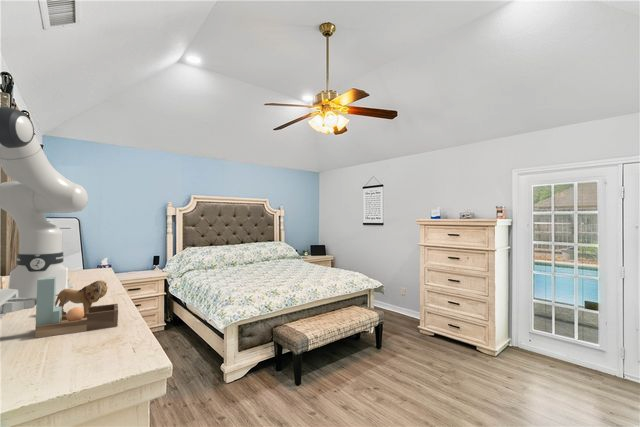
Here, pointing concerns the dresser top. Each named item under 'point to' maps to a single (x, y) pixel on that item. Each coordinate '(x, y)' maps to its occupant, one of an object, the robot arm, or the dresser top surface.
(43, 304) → the grey-green l-shaped block
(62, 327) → the lane
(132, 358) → the dresser top surface
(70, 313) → the ball
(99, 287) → the lion figurine
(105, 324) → the dark brown open box
